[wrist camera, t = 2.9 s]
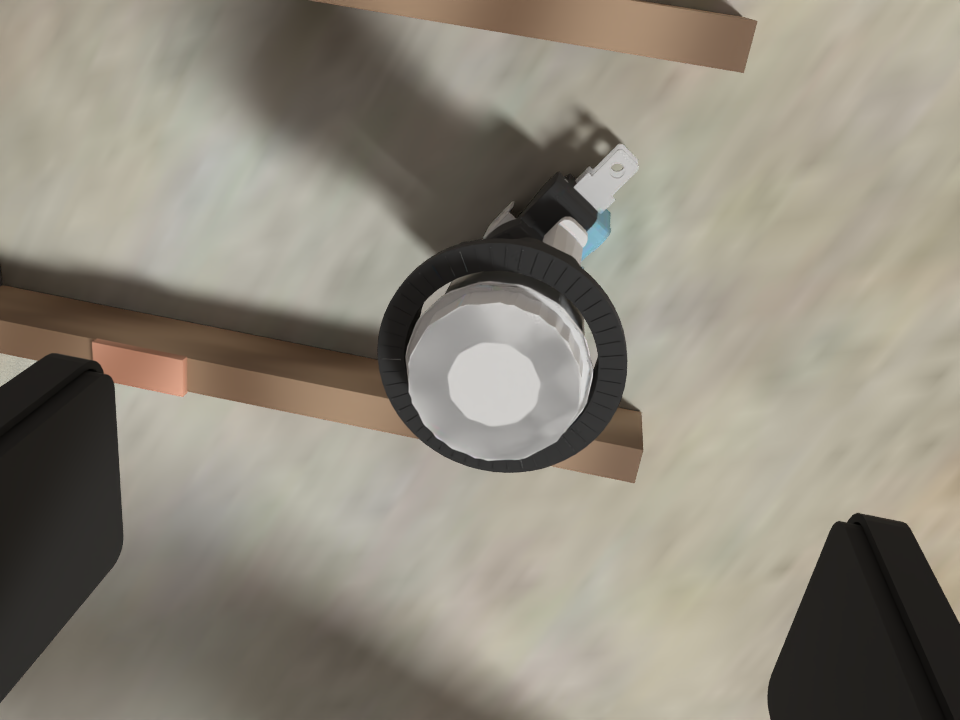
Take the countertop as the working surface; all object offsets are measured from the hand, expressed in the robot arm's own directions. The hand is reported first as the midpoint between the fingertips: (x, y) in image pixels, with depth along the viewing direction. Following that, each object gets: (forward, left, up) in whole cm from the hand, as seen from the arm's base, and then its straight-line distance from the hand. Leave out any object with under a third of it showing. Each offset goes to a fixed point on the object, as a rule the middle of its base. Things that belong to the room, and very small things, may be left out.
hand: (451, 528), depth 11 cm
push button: (0, 0, -17) cm, 17 cm away
